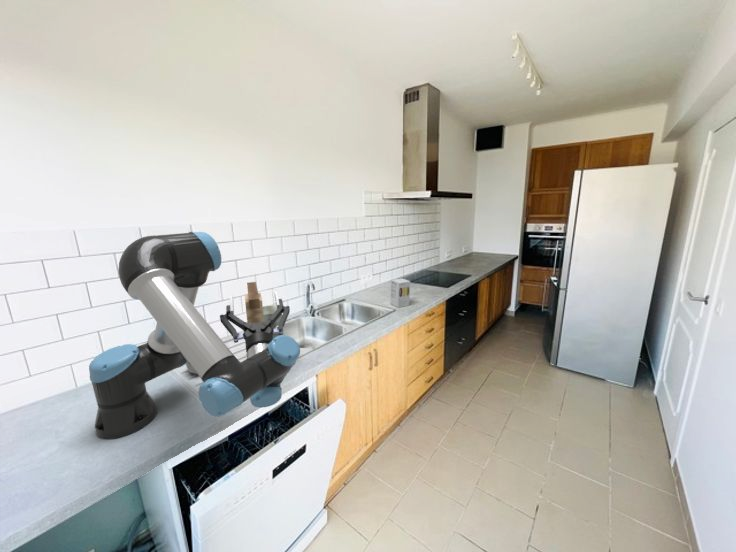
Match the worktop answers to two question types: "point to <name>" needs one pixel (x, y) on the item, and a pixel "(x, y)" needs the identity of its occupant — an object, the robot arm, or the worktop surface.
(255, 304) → the rail
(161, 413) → the worktop surface
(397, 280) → the supplement box
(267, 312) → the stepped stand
